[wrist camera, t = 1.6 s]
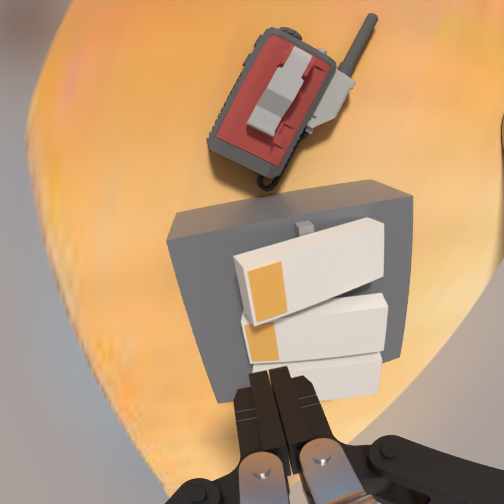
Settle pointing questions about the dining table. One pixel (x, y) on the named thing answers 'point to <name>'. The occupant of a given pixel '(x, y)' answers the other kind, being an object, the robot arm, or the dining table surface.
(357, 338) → the rocker
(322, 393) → the rocker
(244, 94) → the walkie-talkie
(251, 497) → the robot arm
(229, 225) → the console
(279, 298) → the white rectangular block
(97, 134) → the dining table surface
